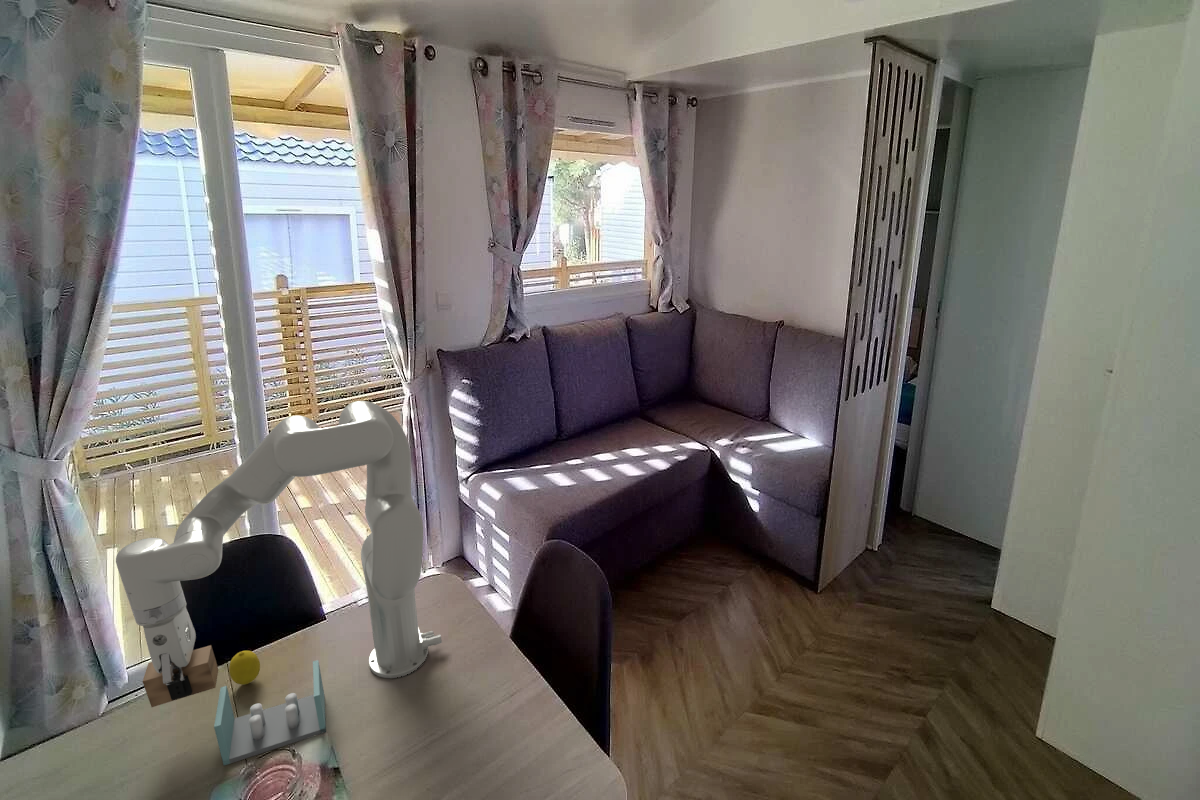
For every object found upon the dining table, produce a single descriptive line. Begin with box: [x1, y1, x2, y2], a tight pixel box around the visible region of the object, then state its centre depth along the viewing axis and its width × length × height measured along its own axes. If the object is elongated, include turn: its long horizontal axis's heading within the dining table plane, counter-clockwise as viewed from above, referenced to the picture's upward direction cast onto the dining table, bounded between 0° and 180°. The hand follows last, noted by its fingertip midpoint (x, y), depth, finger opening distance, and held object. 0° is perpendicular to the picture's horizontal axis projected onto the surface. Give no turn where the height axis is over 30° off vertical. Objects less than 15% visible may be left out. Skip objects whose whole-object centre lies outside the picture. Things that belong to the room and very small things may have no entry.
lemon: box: [228, 650, 261, 686], centre depth 125 cm, size 6×6×8 cm
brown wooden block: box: [142, 644, 219, 708], centre depth 111 cm, size 10×5×6 cm, turn 116°
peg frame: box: [213, 659, 327, 766], centre depth 114 cm, size 17×10×9 cm, turn 116°
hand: (184, 684), depth 112 cm, fingers closed on brown wooden block, 5 cm apart
